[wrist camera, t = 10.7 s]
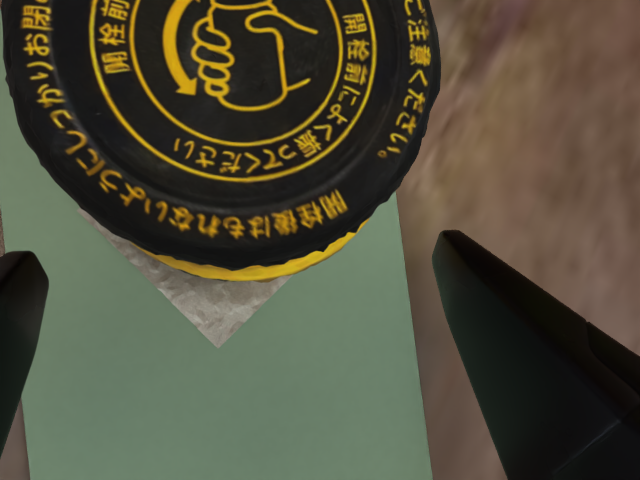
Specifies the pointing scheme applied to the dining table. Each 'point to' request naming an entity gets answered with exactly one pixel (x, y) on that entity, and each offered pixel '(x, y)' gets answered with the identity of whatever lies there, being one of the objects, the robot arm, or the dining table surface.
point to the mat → (211, 357)
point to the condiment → (223, 130)
